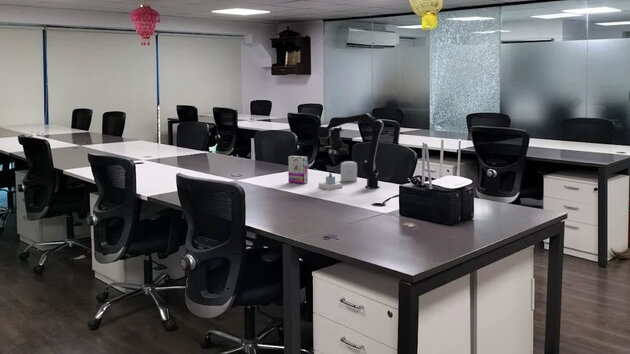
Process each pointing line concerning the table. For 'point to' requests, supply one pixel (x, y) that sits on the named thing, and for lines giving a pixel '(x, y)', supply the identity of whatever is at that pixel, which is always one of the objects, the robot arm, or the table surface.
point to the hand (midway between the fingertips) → (335, 164)
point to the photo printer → (348, 171)
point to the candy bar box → (298, 169)
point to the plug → (330, 179)
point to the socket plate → (331, 186)
